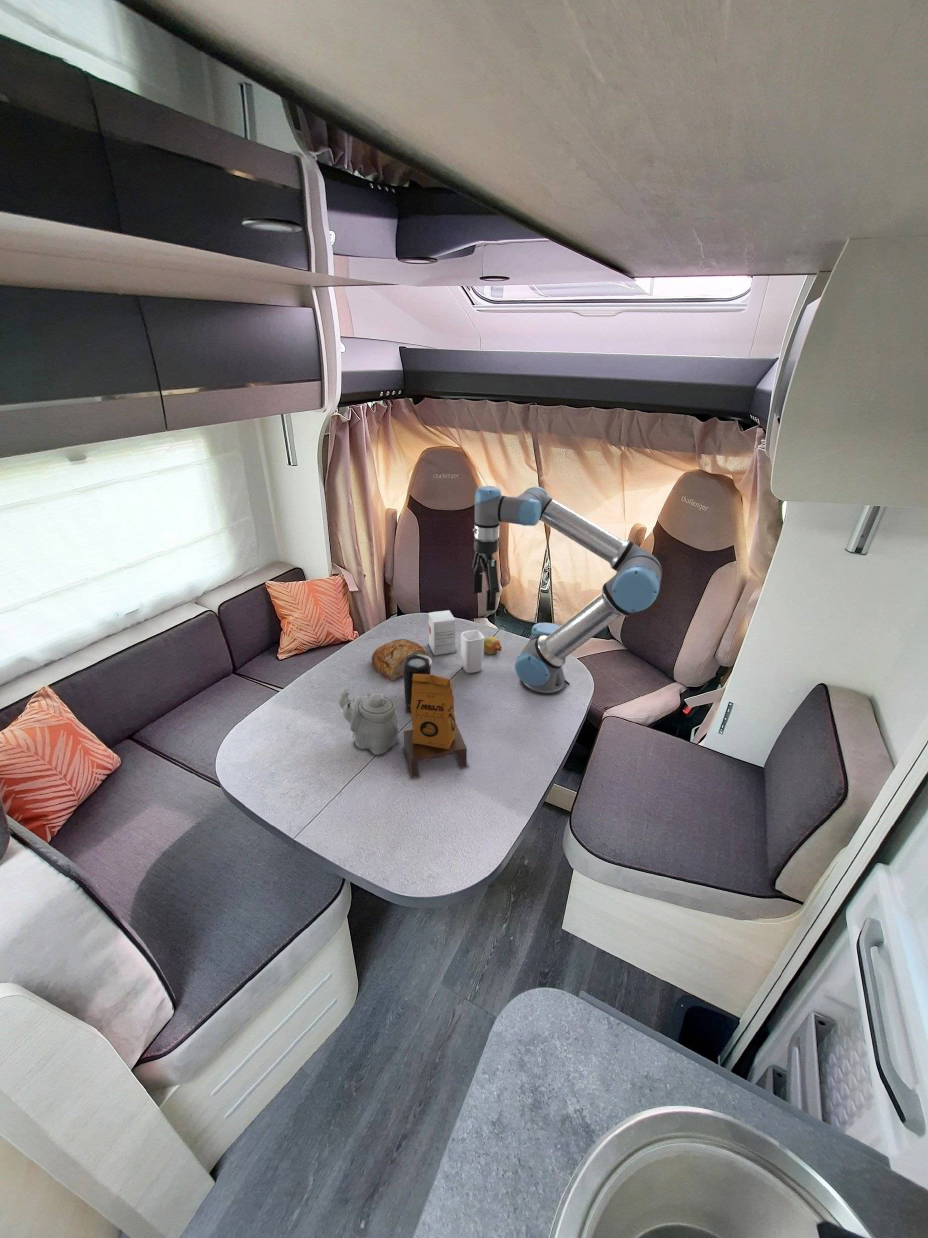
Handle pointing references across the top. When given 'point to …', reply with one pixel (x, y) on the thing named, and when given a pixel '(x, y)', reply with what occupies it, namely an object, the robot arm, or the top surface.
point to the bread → (395, 657)
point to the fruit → (492, 645)
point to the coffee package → (432, 711)
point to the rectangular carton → (442, 632)
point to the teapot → (371, 721)
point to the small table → (432, 751)
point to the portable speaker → (411, 667)
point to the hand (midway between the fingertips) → (483, 601)
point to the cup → (472, 650)
